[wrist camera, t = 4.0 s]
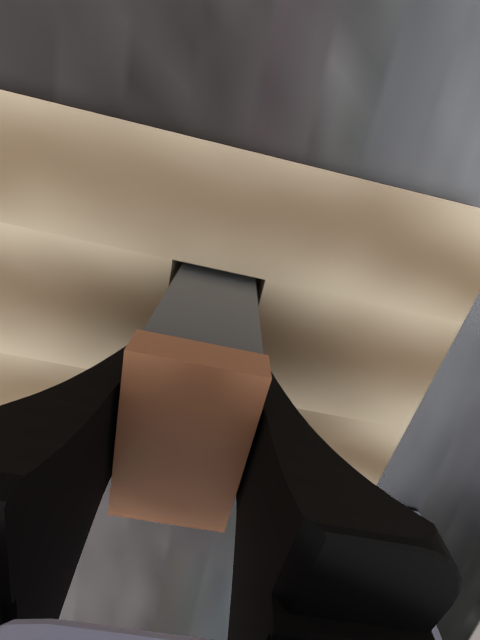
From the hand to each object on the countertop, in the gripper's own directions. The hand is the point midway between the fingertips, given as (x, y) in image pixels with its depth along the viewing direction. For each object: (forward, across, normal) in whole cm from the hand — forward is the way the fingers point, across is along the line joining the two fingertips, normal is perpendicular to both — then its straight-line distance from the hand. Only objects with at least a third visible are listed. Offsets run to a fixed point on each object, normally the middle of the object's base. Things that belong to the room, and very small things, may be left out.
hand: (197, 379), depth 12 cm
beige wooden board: (+6, 0, 0) cm, 6 cm away
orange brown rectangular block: (+4, 0, 0) cm, 4 cm away
